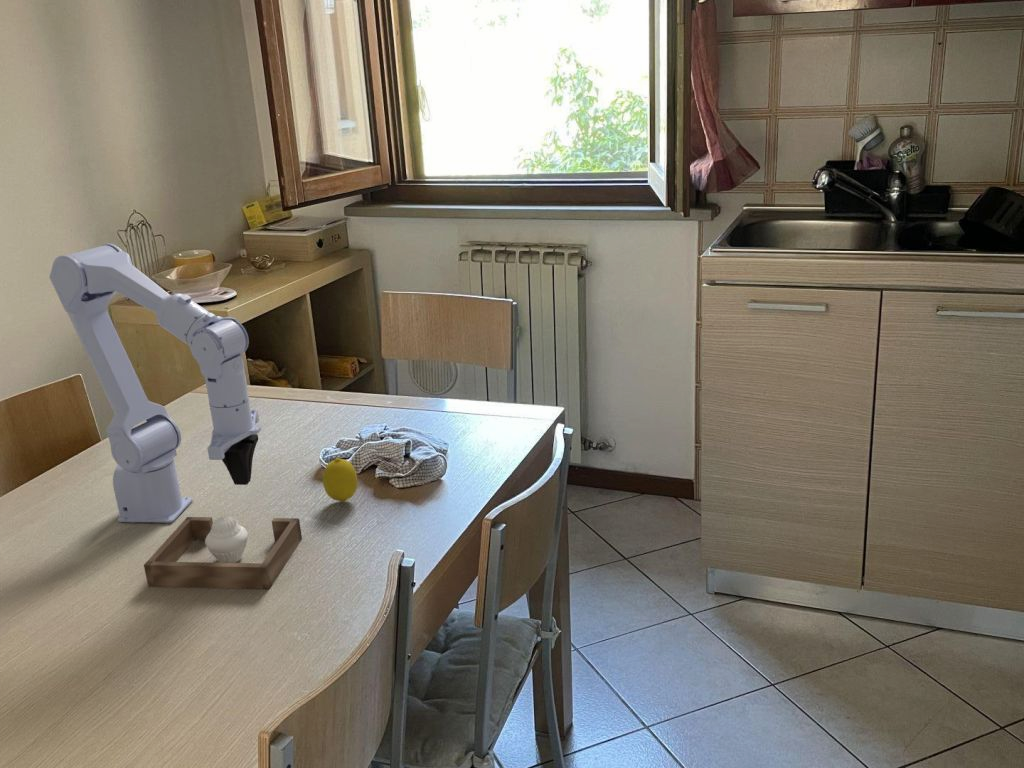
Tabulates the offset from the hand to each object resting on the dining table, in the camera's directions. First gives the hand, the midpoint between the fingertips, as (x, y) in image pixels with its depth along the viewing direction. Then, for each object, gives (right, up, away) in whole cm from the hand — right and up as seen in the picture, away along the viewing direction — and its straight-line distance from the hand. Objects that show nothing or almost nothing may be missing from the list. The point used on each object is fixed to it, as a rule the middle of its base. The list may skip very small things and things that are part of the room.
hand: (242, 482), depth 144 cm
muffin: (0, -11, -5) cm, 12 cm away
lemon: (+14, -5, +11) cm, 18 cm away
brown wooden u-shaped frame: (-1, -11, -5) cm, 12 cm away
